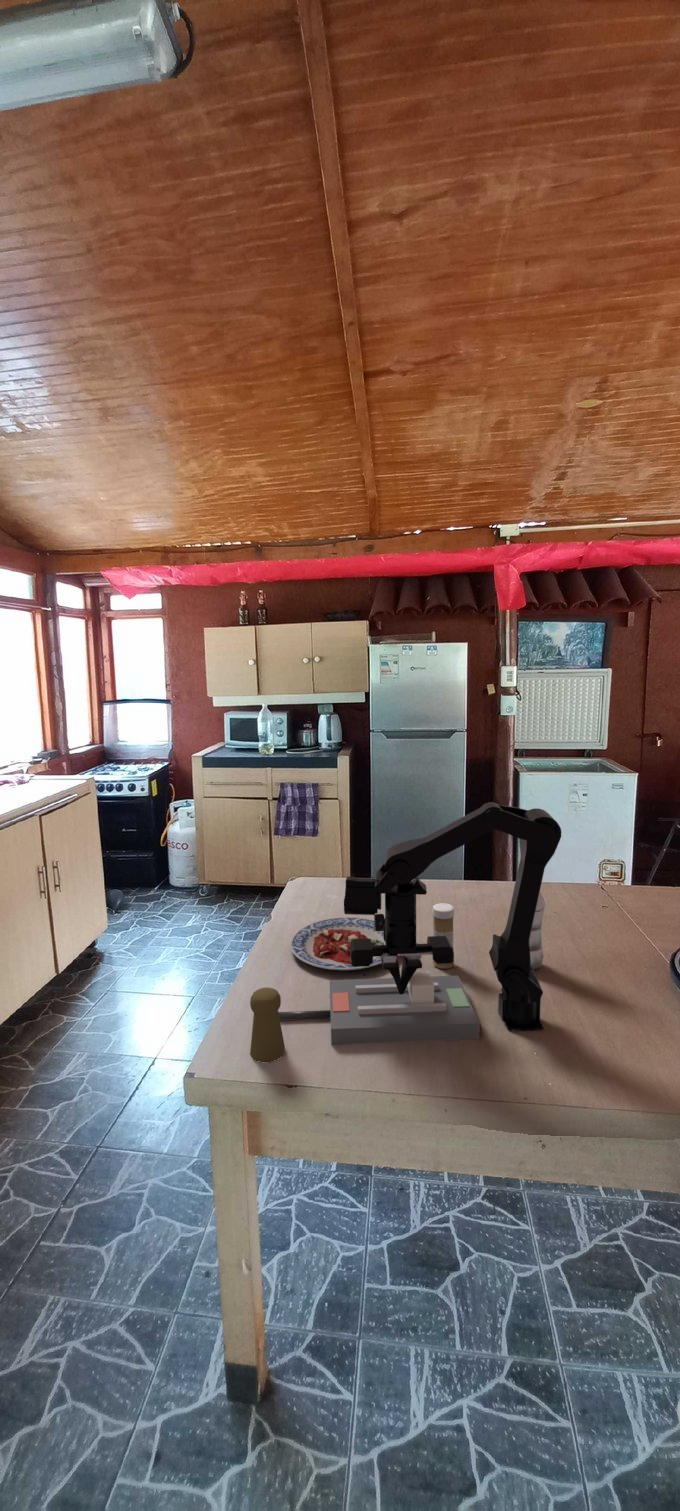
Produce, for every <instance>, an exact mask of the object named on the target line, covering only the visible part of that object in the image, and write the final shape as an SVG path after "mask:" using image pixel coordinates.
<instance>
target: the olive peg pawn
mask: <svg viewBox="0 0 680 1511" xmlns="http://www.w3.org/2000/svg"><path fill="white" fill-rule="evenodd" d="M281 1004H282V998H281V995H280V993H279V991H278V990H277V989H275V988H273V987H266V986H265V987H261V988H259V989H256V990H255V991H253V993H252V995H251V996H250V1000H249V1006H250V1009H251V1011H252V1013H253V1016H252V1019H253V1020H252V1028H251V1040H250V1051H249V1055H250V1058H251V1057H252V1058H253V1059H252V1058H251V1059H252V1060H254V1061H255V1060H256V1061H255V1062H257V1061H260V1062H259V1063H262V1062H269V1063H272V1062H271V1061H273V1062H275V1061H274V1060H276V1061H278V1060H279V1059H278V1058H280V1057H281V1056H282V1057H283V1056H284V1055H283V1054H285V1053H286V1046H285V1040H284V1035H283V1031H282V1030H283V1029H282V1024H281V1020H280V1018H279V1012H280V1011H279V1010H280V1008H281ZM284 1052H285V1053H284ZM282 1057H281V1058H282ZM281 1058H280V1059H281ZM277 1059H278V1060H277Z"/></svg>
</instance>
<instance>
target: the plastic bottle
mask: <svg viewBox="0 0 680 1511" xmlns="http://www.w3.org/2000/svg"><path fill="white" fill-rule="evenodd" d="M545 907H546V901H545V897H544V896H543V894H542V893H541V891H540V892H539V897H538V902H537V906H536V911H535V916H534V920H533V925H532V929H531V934H530V939H529V947H530V959H531V966H532V968H533V970H534V971H535V970H538V969H539V968H540V967H541V966H542V965H543V962H544V950H543V949H544V948H543V944H542V942H543V940H542V927H543V918H544V913H545Z"/></svg>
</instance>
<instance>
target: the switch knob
mask: <svg viewBox="0 0 680 1511" xmlns="http://www.w3.org/2000/svg"><path fill="white" fill-rule="evenodd" d="M431 977H432V976H431V972H430V971H429V970H424V971H423V970H420V971H418V970H416V971H415V973H414V974H413V976H412V977H411V979H410V981H409V983H408V992H409V996H410V999H411V1003H412V1004H428V1003H434V984H433V981H432V978H431Z"/></svg>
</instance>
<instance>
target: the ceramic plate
mask: <svg viewBox="0 0 680 1511" xmlns="http://www.w3.org/2000/svg"><path fill="white" fill-rule="evenodd" d="M369 938H370V939H371V944H372V945H385V941H384V939H383V931H375V928H374V920H373V919H368V918H362V917H343V916H342V917H332V918H328V919H327V918H326V919H322V920H319V921H315V922H311V923H310V924H307V925H305V926H304V927H301V928H300V929H299V930H297V931H296V932H295V933H294V935H292V937H291V939H290V942H289V943H290V946H289V947H290V950H291V952H292V953H293V955H294V956H295V957H296V958H297V959H298V960H300V961H301V962H303V963H305V964H308V965H310V966H312V967H314V968H315V967H316V968H320V969H324V970H330V971H331V970H333V971H355V970H362V969H369V968H372V967H376V966H378V965H382V961H381V956H375V957H373V963H372V964H371V965H370V966H362V967H354V966H352V965H351V957H350V942H351V941H352V939H369Z"/></svg>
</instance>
